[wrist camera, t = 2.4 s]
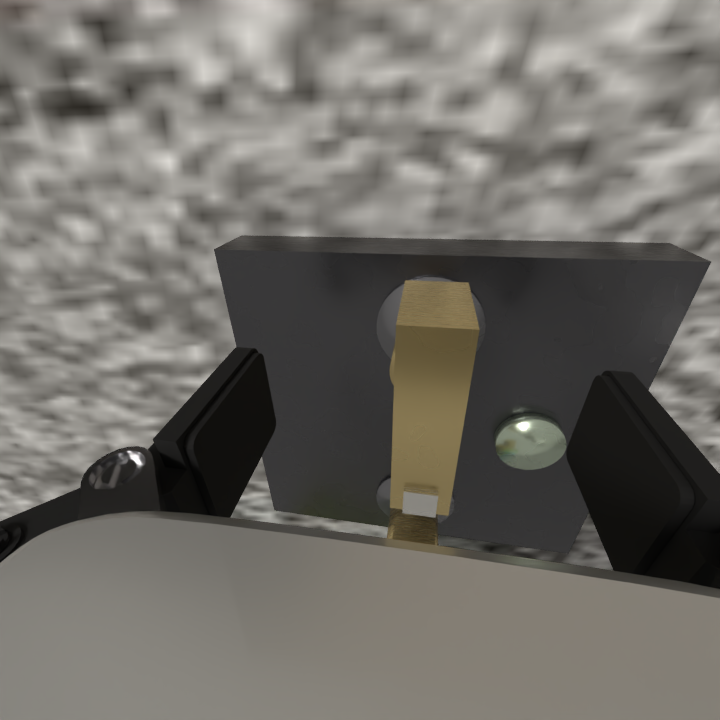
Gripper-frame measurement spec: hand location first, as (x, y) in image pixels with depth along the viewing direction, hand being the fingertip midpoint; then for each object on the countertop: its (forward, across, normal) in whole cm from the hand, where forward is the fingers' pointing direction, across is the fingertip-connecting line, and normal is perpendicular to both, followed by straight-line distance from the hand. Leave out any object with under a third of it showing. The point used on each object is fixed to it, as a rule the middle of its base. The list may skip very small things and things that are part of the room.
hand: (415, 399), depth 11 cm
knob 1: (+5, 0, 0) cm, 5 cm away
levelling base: (+8, 0, +6) cm, 10 cm away
